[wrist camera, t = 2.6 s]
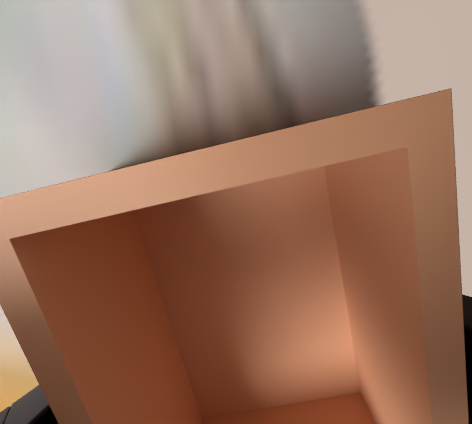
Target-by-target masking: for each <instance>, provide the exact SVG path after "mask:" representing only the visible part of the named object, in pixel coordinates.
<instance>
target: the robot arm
mask: <svg viewBox="0 0 472 424" xmlns="http://www.w3.org/2000/svg"><path fill="white" fill-rule="evenodd" d="M462 304H463V324H464V343H465V362H466V382H467V401H468V421H469V424H472V297H469V296H465V295H462ZM0 424H58V422H57V420H56V418H55V415H54V413H53V411H52V409H51V407H50V405H49V403H48V401H47V399H46V397H45V395H44V393H43V391H42V389H41V387H40V385H38V386H37V387H35V388H34V389H33V390H31V391H30V392H28V393H27V394H26V395H24V396H23V397H21V398H20V399H18V400H17V401H16V402H14V403H13V404H12V405H11V407H10V406H9V407H7V408H6V409H4V410H3V411H1V412H0Z"/></svg>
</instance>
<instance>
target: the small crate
mask: <svg viewBox="0 0 472 424" xmlns="http://www.w3.org/2000/svg"><path fill="white" fill-rule="evenodd" d="M461 286H462V285H461V265H460V246H459V227H458V208H457V189H456V168H455V149H454V130H453V110H452V92H451V89H447V90H443V91H438V92H434V93H430V94H426V95H422V96H418V97H413V98H409V99H405V100H401V101H397V102H393V103H388V104H384V105H380V106H376V107H372V108H368V109H364V110H359V111H355V112H351V113H347V114H343V115H339V116H334V117H330V118H326V119H322V120H318V121H314V122H310V123H306V124H302V125H297V126H293V127H289V128H285V129H281V130H277V131H273V132H269V133H265V134H260V135H256V136H252V137H248V138H244V139H240V140H236V141H232V142H228V143H224V144H219V145H215V146H211V147H207V148H203V149H199V150H195V151H191V152H187V153H183V154H178V155H174V156H170V157H166V158H162V159H158V160H154V161H150V162H146V163H142V164H137V165H133V166H129V167H125V168H121V169H117V170H113V171H109V172H105V173H101V174H97V175H92V176H88V177H84V178H80V179H76V180H72V181H68V182H64V183H60V184H56V185H52V186H48V187H44V188H40V189H36V190H31V191H27V192H23V193H19V194H15V195H11V196H7V197H3V198H0V305H1V307H2V309H3V311H4V313H5V315H6V317H7V319H8V321H9V323H10V325H11V327H12V329H13V331H14V333H15V335H16V337H17V340H18V342H19V344H20V346H21V348H22V350H23V352H24V354H25V356H26V358H27V360H28V362H29V364H30V366H31V368H32V370H33V372H34V374H35V376H36V379H37V381H38V383H39V385H40V387H41V389H42V391H43V393H44V395H45V397H46V399H47V401H48V403H49V405H50V407H51V409H52V411H53V413H54V415H55V418H56V420H57V422H58V424H469V421H468V401H467V382H466V362H465V343H464V324H463V304H462V287H461Z"/></svg>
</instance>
